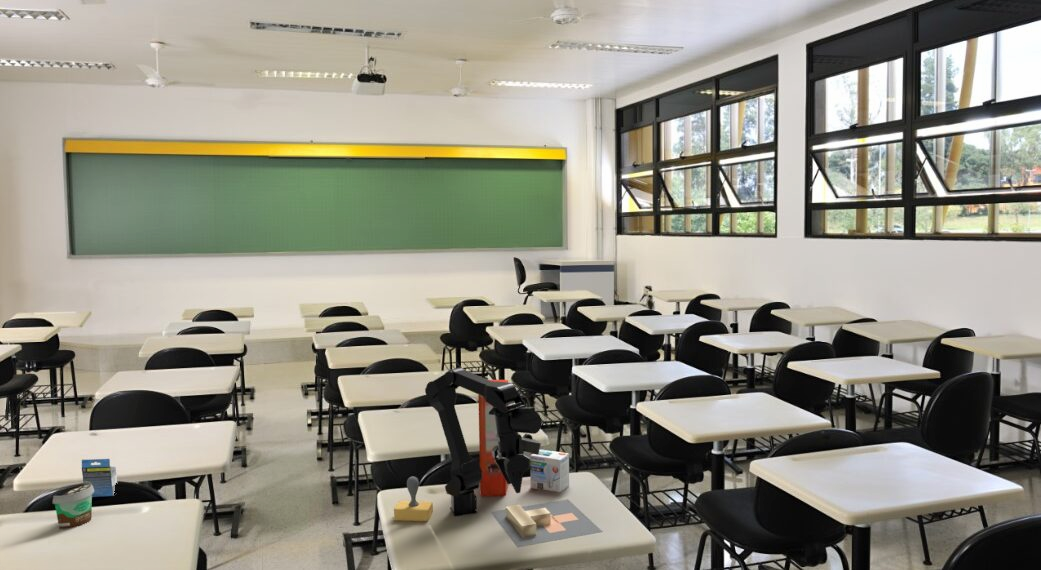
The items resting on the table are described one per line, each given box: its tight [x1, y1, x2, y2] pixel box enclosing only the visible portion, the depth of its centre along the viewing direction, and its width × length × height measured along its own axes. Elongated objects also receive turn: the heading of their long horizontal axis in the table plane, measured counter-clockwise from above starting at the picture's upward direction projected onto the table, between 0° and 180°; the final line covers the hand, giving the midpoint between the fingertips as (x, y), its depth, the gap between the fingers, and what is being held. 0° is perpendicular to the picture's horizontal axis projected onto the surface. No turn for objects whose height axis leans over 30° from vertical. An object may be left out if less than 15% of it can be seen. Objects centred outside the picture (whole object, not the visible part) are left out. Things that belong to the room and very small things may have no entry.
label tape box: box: [81, 458, 118, 498], centre depth 237 cm, size 9×4×12 cm, turn 94°
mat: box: [490, 498, 603, 548], centre depth 209 cm, size 24×24×1 cm
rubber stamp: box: [393, 476, 434, 522], centre depth 215 cm, size 10×6×12 cm, turn 83°
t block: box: [505, 504, 551, 537], centre depth 207 cm, size 10×14×3 cm
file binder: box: [477, 379, 509, 498], centre depth 236 cm, size 8×17×32 cm, turn 177°
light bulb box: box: [529, 448, 570, 493], centre depth 235 cm, size 11×7×11 cm, turn 62°
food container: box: [52, 481, 94, 530], centre depth 217 cm, size 12×6×10 cm, turn 168°
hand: (513, 488), depth 203 cm, fingers open, 9 cm apart
